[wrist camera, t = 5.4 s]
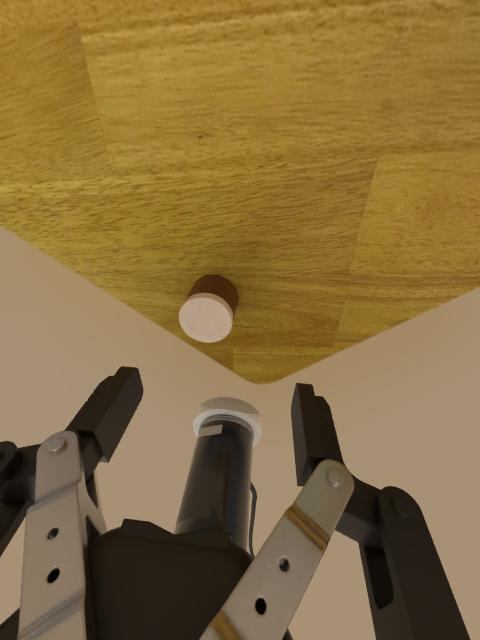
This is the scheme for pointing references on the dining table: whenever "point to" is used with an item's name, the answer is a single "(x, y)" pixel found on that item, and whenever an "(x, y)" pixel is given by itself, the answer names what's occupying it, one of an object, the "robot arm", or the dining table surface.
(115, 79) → the dining table surface
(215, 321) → the brown lidded jar
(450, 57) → the dining table surface
